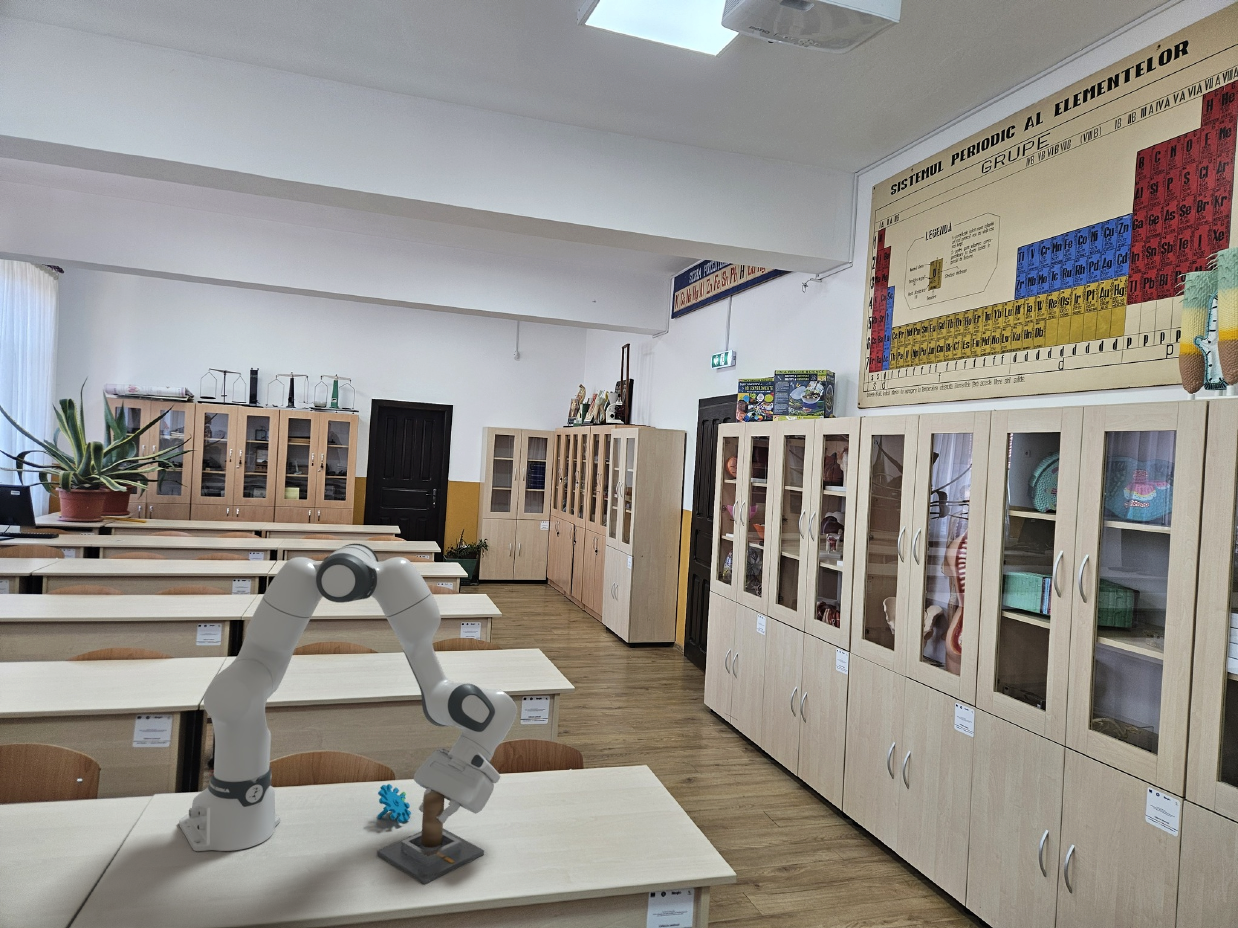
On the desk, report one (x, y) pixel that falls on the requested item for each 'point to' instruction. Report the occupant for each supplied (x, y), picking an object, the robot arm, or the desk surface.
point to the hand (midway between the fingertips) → (430, 816)
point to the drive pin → (432, 820)
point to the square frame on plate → (429, 856)
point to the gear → (394, 803)
